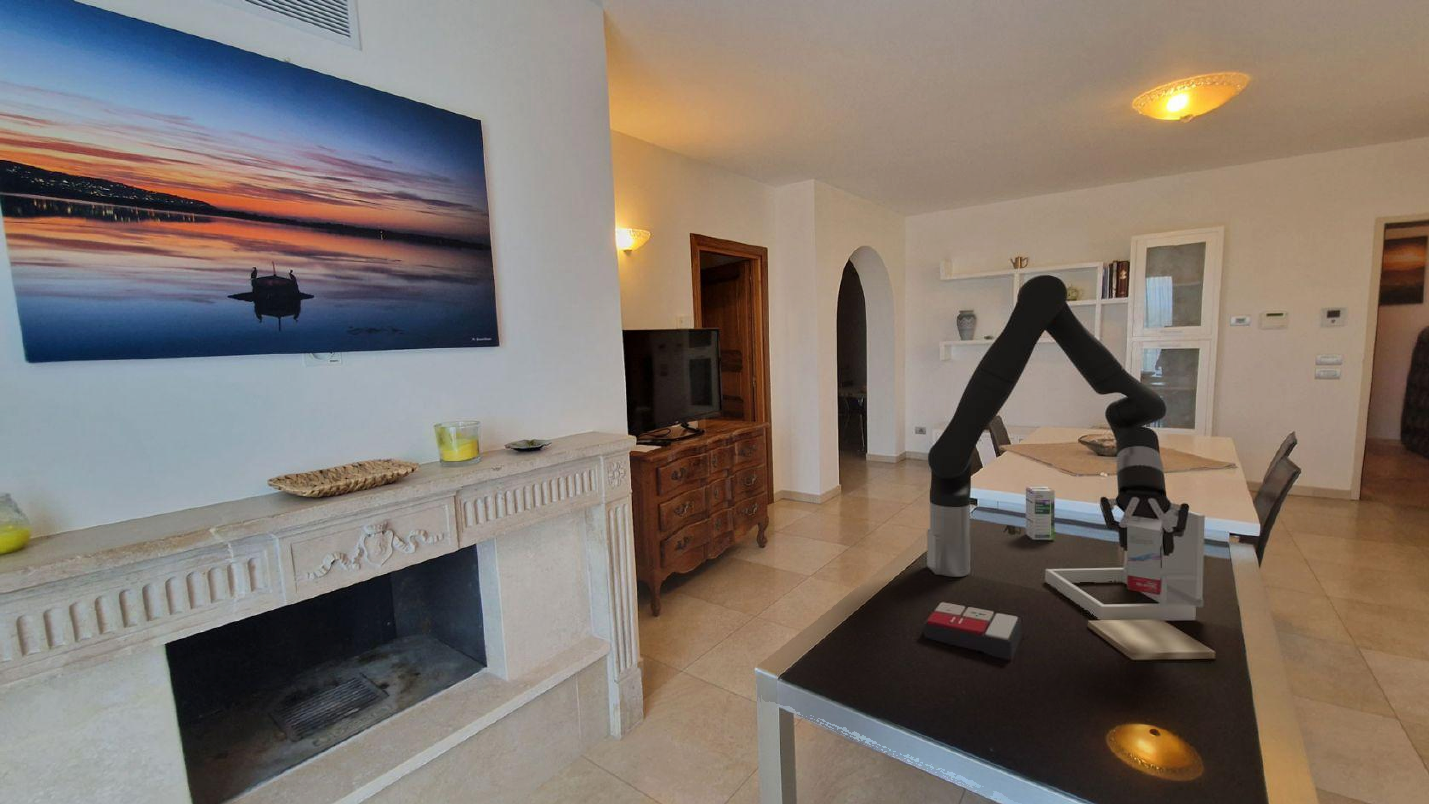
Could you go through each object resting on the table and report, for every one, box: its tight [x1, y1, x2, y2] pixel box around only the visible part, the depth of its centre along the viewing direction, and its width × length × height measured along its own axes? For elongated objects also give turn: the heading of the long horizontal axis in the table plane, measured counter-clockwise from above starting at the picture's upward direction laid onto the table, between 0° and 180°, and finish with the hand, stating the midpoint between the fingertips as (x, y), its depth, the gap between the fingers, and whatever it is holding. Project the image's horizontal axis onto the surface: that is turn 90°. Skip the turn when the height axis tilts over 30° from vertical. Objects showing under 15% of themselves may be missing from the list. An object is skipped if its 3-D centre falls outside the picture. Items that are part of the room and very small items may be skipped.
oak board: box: [1087, 619, 1216, 661], centre depth 102 cm, size 14×12×1 cm
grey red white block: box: [923, 601, 1023, 661], centre depth 106 cm, size 11×4×15 cm
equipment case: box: [1044, 509, 1206, 622], centre depth 118 cm, size 19×20×21 cm
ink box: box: [1126, 516, 1163, 595], centre depth 101 cm, size 9×5×12 cm, turn 138°
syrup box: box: [1025, 486, 1056, 541], centre depth 160 cm, size 6×6×14 cm
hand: (1146, 551), depth 102 cm, fingers closed on ink box, 5 cm apart
